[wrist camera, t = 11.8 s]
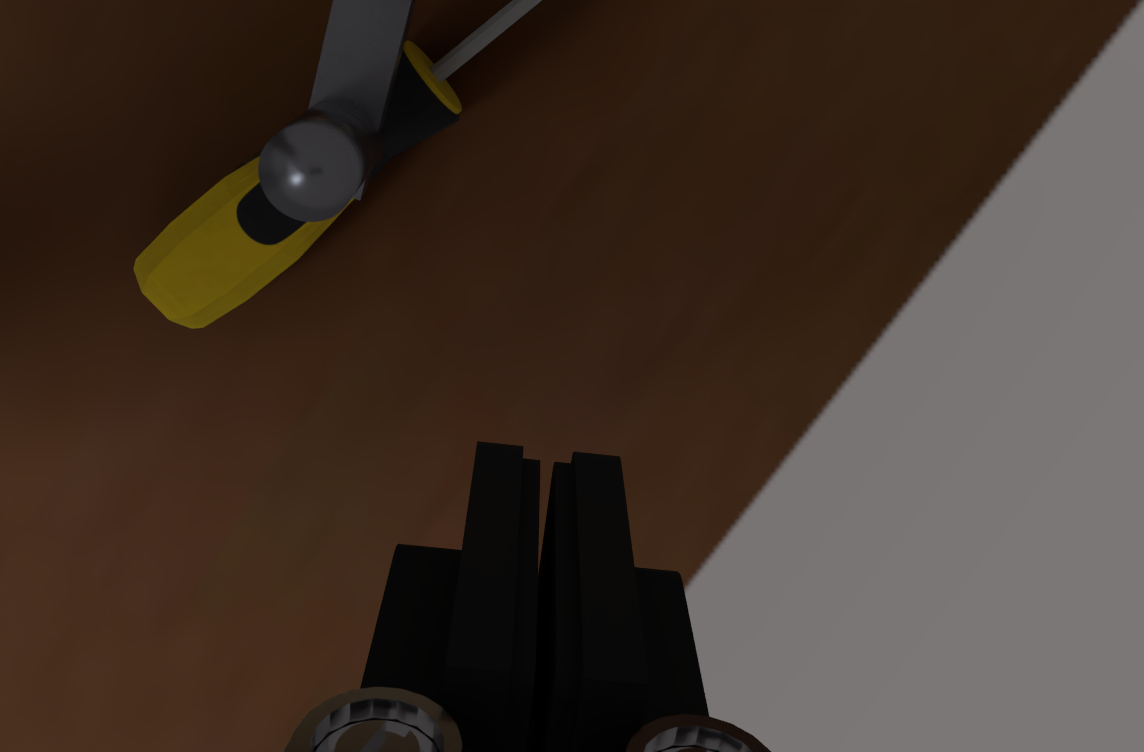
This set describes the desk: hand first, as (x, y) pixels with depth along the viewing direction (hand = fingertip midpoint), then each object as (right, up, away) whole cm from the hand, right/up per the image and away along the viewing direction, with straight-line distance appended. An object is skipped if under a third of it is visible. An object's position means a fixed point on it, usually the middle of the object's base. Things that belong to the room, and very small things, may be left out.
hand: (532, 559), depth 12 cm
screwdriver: (-2, +14, +22) cm, 26 cm away
